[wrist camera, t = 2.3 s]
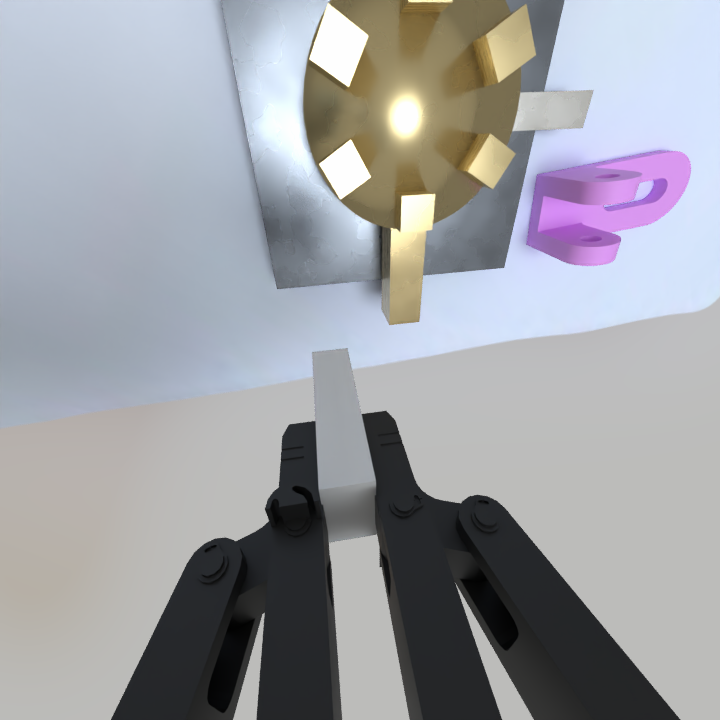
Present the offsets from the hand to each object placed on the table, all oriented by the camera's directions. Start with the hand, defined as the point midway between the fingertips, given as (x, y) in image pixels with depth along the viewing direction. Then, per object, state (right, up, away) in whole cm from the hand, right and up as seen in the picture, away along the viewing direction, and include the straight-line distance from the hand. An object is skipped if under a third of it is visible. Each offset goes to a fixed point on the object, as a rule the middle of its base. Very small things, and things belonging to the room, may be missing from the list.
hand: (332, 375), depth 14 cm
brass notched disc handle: (+4, +13, +8) cm, 16 cm away
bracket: (+22, +15, +14) cm, 30 cm away
